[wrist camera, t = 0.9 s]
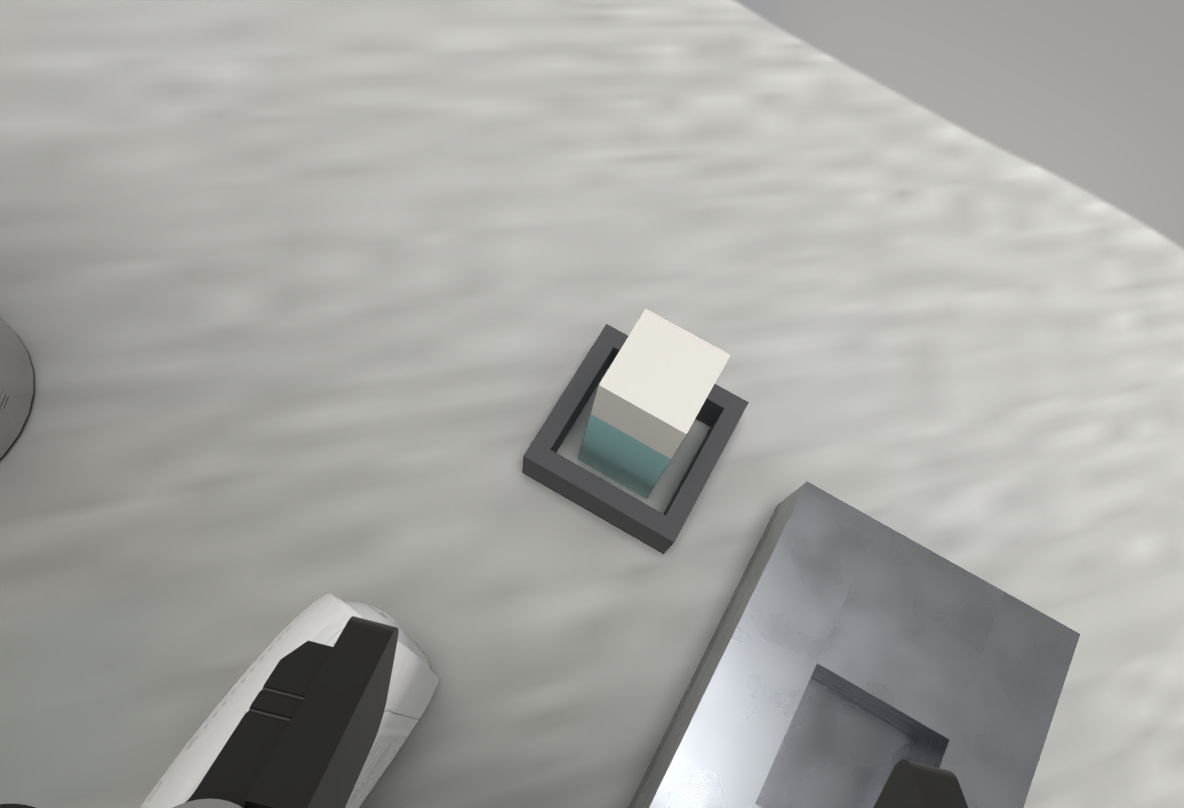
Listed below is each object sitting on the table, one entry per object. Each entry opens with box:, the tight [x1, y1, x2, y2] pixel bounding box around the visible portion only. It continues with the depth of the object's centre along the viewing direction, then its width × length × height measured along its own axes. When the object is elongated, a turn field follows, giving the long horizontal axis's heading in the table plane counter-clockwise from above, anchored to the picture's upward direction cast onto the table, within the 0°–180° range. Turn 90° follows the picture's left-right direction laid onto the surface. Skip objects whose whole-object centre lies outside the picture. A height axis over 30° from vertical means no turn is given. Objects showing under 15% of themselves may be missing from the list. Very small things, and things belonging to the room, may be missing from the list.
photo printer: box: [140, 592, 440, 808], centre depth 28 cm, size 10×4×12 cm, turn 146°
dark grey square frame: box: [523, 324, 749, 554], centre depth 38 cm, size 7×7×2 cm
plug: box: [578, 309, 730, 498], centre depth 35 cm, size 4×4×9 cm
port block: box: [629, 482, 1080, 808], centre depth 33 cm, size 12×18×4 cm, turn 150°
